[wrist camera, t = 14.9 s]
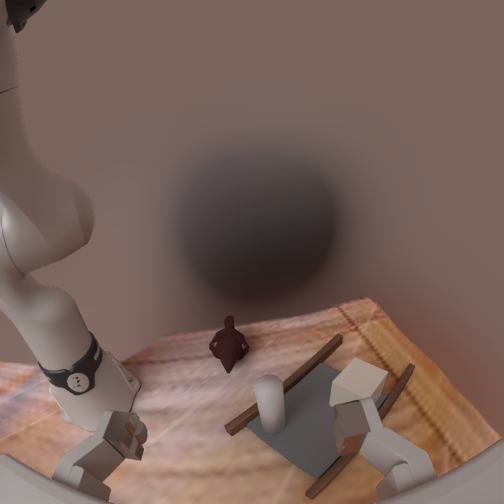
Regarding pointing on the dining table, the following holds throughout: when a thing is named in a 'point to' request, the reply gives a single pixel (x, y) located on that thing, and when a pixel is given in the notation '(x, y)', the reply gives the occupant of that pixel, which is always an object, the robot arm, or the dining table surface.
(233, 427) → the rails
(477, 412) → the dining table surface
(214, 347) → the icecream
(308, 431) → the board
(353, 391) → the block
